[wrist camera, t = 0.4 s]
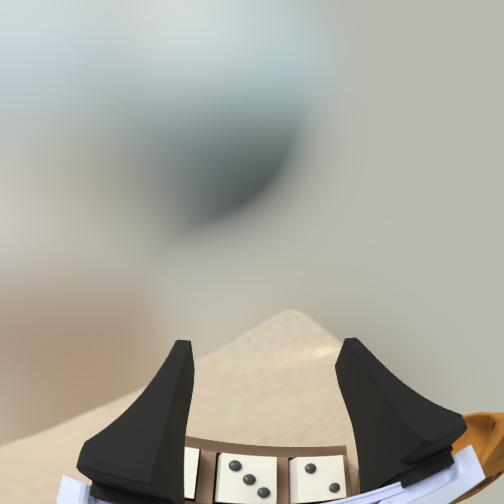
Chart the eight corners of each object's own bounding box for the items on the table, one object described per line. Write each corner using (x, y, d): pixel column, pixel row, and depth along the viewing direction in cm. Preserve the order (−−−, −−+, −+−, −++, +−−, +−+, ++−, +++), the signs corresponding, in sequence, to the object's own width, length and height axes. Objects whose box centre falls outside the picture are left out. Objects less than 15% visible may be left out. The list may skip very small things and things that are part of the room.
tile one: (191, 498, 16) (194, 498, 15) (137, 487, 16) (133, 485, 14) (196, 454, 21) (199, 448, 19) (145, 443, 20) (142, 436, 18)
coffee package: (421, 519, 15) (573, 446, 3) (343, 526, 16) (531, 469, 4) (425, 459, 23) (553, 367, 11) (355, 455, 24) (503, 349, 12)
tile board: (337, 510, 18) (351, 508, 16) (122, 495, 15) (116, 494, 14) (332, 452, 25) (346, 445, 23) (135, 430, 22) (132, 422, 20)
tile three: (266, 504, 17) (277, 503, 16) (213, 501, 17) (218, 501, 15) (266, 462, 21) (277, 456, 20) (217, 458, 21) (222, 452, 19)
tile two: (331, 500, 18) (347, 496, 16) (286, 504, 18) (298, 502, 16) (328, 461, 22) (343, 454, 20) (285, 462, 22) (297, 456, 20)
